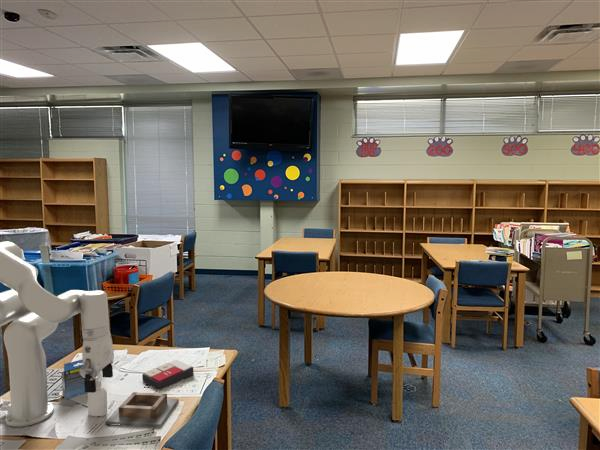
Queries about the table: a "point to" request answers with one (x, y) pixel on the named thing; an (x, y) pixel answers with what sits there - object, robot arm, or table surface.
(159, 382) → the red and grey box
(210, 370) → the table surface
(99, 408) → the eye dropper bottle
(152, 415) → the stand
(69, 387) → the label tape cartridge
